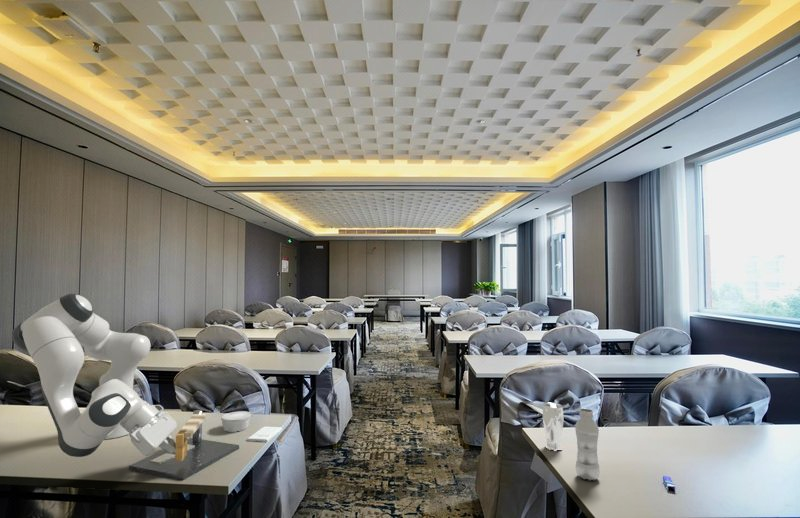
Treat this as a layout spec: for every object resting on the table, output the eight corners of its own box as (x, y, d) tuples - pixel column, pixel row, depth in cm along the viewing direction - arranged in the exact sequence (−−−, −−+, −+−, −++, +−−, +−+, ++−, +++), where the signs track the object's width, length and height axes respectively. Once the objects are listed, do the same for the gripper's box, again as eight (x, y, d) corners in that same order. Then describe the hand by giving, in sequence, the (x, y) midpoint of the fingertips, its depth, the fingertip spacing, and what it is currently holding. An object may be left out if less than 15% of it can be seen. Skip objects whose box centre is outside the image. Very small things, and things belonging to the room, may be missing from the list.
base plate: (129, 469, 127) (130, 430, 127) (190, 440, 149) (191, 408, 150) (183, 480, 120) (184, 439, 120) (239, 448, 142) (239, 414, 143)
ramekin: (235, 422, 170) (235, 409, 170) (256, 425, 166) (256, 412, 166) (214, 431, 159) (214, 417, 159) (236, 435, 155) (237, 421, 155)
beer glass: (564, 446, 144) (563, 403, 145) (563, 453, 138) (562, 409, 139) (544, 442, 147) (543, 401, 148) (542, 450, 141) (541, 406, 142)
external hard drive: (282, 431, 160) (267, 443, 148) (263, 430, 162) (246, 442, 149) (282, 427, 161) (267, 439, 148) (263, 426, 162) (246, 437, 150)
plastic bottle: (571, 473, 123) (569, 407, 125) (592, 472, 124) (590, 406, 125) (582, 484, 117) (581, 414, 118) (605, 483, 118) (602, 413, 119)
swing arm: (192, 437, 144) (193, 414, 144) (204, 436, 145) (205, 413, 145) (175, 461, 124) (175, 435, 125) (189, 460, 125) (190, 434, 125)
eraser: (667, 492, 113) (666, 484, 113) (662, 482, 118) (662, 475, 119) (675, 493, 112) (675, 486, 112) (670, 483, 118) (670, 476, 118)
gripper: (135, 424, 115) (171, 456, 117) (162, 403, 135) (192, 430, 137) (117, 441, 114) (154, 473, 116) (147, 417, 134) (178, 445, 136)
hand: (175, 450), depth 126 cm, fingers closed
